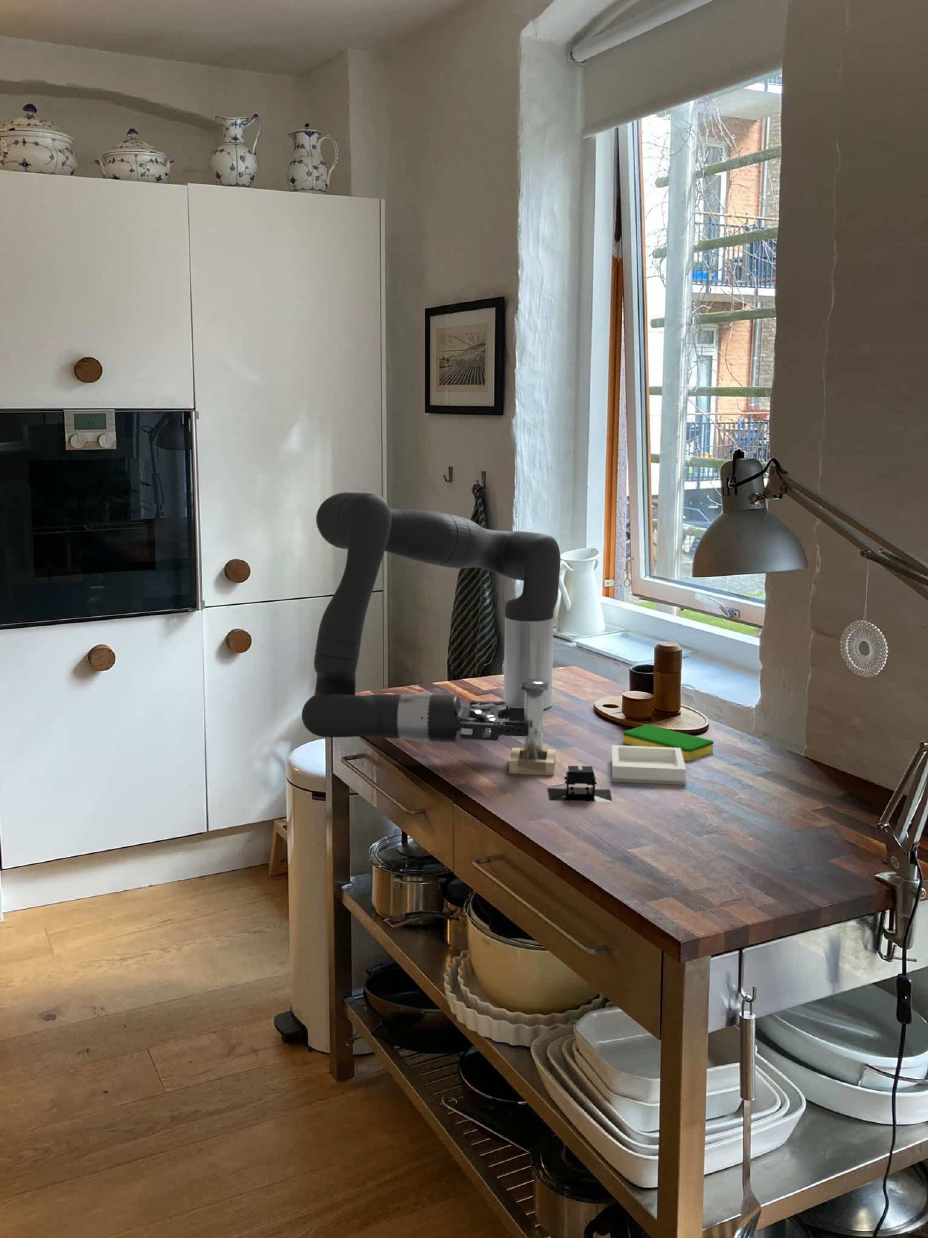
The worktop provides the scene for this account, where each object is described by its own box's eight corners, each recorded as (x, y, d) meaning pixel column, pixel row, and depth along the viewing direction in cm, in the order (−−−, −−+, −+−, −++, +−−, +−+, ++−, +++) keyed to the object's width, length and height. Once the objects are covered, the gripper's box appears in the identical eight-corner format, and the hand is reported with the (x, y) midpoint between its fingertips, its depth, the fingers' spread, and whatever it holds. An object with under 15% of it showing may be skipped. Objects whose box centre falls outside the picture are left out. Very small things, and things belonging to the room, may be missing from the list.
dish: (611, 760, 183) (611, 745, 183) (679, 762, 182) (680, 748, 181) (612, 781, 172) (612, 766, 172) (685, 785, 171) (686, 769, 171)
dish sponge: (688, 763, 183) (689, 749, 183) (621, 745, 193) (622, 731, 193) (713, 754, 188) (714, 740, 187) (647, 737, 198) (647, 723, 197)
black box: (619, 791, 170) (620, 762, 169) (624, 808, 163) (625, 778, 162) (537, 789, 170) (537, 760, 170) (538, 806, 163) (539, 776, 162)
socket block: (512, 759, 183) (512, 747, 183) (555, 761, 182) (555, 749, 182) (509, 773, 176) (509, 761, 176) (553, 775, 175) (554, 762, 175)
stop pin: (519, 762, 181) (521, 677, 179) (547, 763, 181) (549, 678, 178) (517, 771, 177) (519, 684, 175) (545, 772, 177) (548, 685, 174)
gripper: (422, 706, 172) (528, 710, 170) (435, 684, 186) (533, 687, 184) (422, 753, 173) (527, 758, 172) (435, 728, 187) (532, 731, 185)
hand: (530, 721), depth 178 cm, fingers open, 8 cm apart
